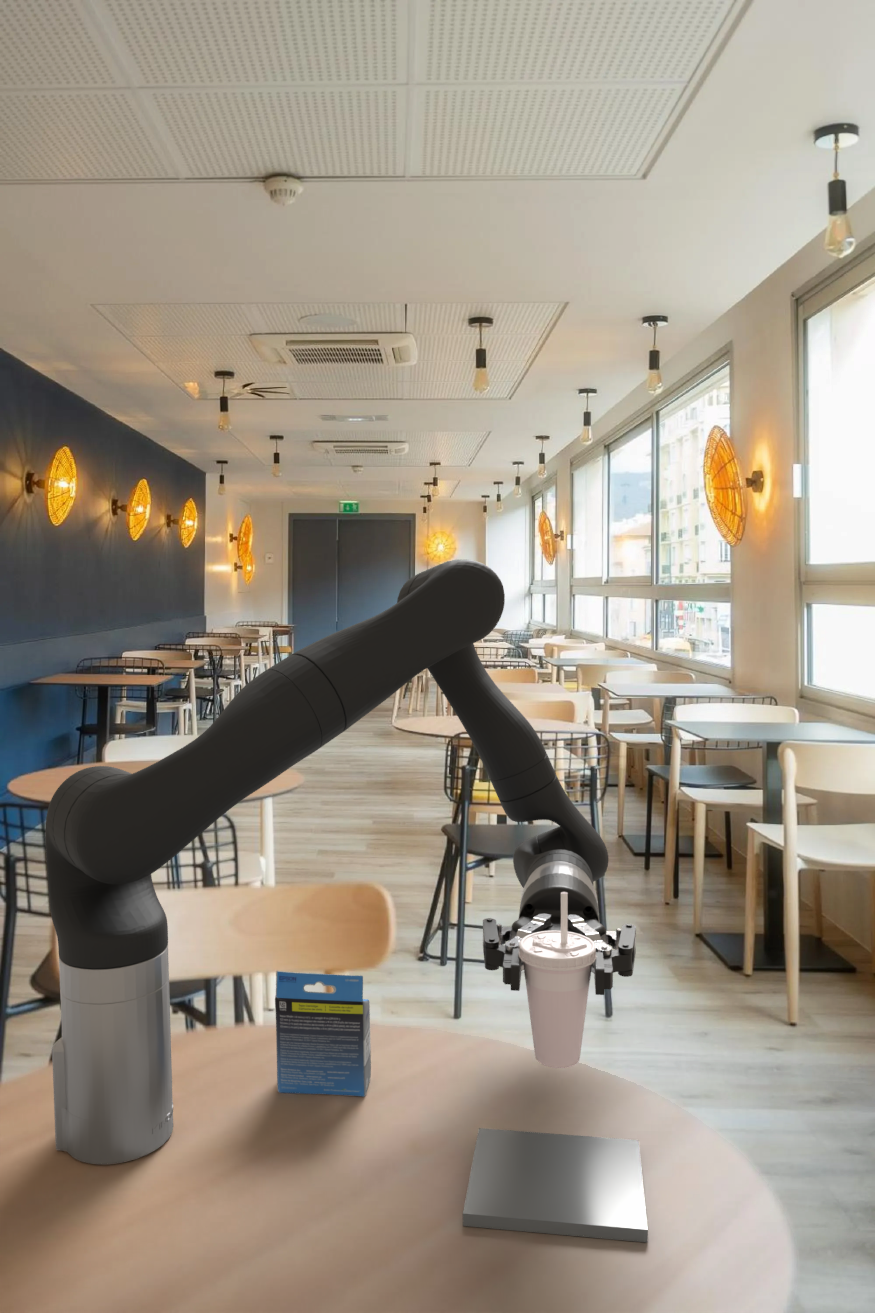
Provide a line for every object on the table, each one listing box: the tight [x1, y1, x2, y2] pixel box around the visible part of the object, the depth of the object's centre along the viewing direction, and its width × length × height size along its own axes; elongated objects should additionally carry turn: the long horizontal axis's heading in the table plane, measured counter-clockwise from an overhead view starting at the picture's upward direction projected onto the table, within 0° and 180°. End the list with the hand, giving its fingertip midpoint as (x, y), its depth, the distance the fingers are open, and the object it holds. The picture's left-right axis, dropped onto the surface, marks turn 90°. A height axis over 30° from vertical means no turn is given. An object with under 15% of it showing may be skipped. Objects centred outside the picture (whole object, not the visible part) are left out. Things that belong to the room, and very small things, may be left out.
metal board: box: [462, 1127, 649, 1243], centre depth 81 cm, size 14×12×1 cm
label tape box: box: [274, 970, 372, 1097], centre depth 97 cm, size 9×4×12 cm, turn 84°
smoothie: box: [518, 892, 597, 1069], centre depth 81 cm, size 6×6×14 cm
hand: (557, 981), depth 79 cm, fingers closed on smoothie, 6 cm apart
